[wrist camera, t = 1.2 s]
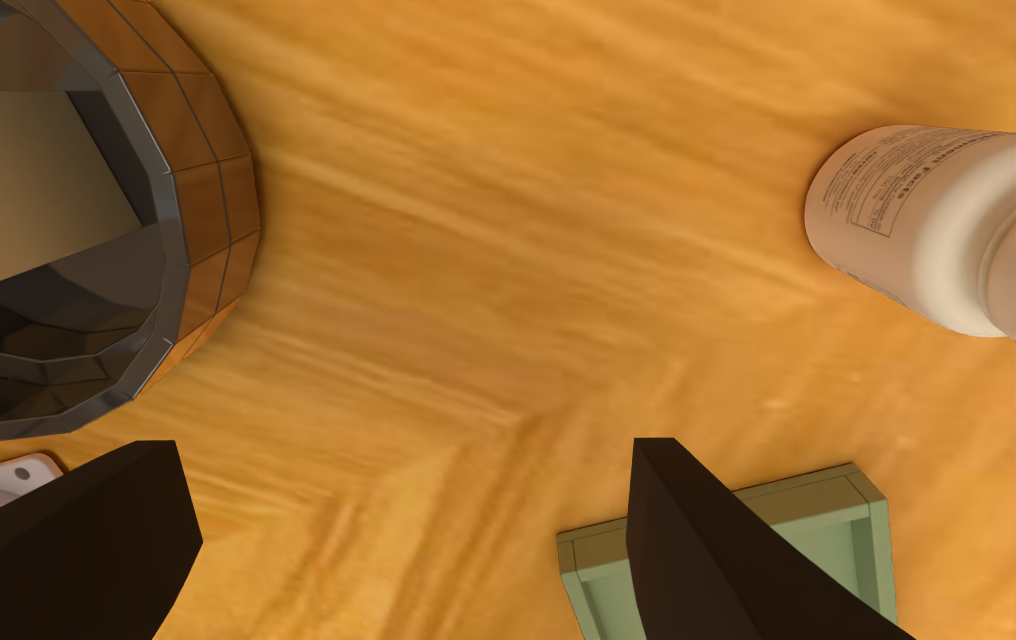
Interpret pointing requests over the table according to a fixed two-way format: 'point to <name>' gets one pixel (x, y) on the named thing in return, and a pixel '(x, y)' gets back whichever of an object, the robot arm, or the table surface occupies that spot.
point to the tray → (782, 505)
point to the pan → (155, 200)
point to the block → (53, 184)
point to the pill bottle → (924, 222)
